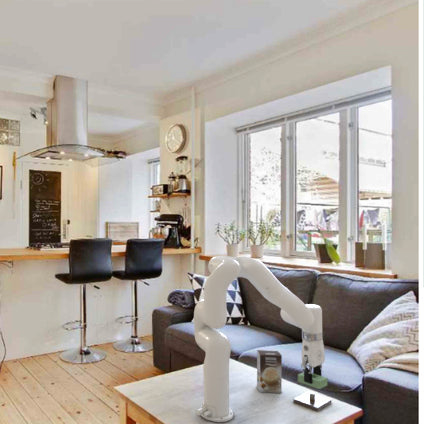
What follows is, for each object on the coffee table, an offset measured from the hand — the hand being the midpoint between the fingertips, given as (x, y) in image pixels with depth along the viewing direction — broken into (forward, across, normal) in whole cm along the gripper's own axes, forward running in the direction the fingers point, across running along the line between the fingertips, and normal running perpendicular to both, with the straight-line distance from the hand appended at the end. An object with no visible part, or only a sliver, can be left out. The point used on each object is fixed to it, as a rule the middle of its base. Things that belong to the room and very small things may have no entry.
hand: (312, 379), depth 169 cm
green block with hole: (+2, 0, 0) cm, 2 cm away
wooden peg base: (+9, 0, 0) cm, 9 cm away
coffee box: (+9, -3, +18) cm, 21 cm away
